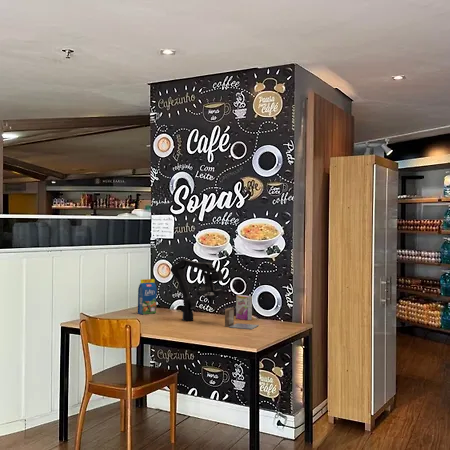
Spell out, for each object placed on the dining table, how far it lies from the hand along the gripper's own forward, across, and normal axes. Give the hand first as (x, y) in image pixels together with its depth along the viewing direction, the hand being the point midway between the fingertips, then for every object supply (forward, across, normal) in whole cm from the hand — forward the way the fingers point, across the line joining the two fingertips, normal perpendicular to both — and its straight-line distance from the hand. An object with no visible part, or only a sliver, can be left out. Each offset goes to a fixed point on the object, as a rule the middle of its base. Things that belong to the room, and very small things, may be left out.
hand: (211, 305), depth 379 cm
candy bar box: (+15, +4, +28) cm, 32 cm away
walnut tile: (+13, +15, -2) cm, 20 cm away
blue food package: (+6, -61, -1) cm, 62 cm away
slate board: (+14, +24, +1) cm, 28 cm away
